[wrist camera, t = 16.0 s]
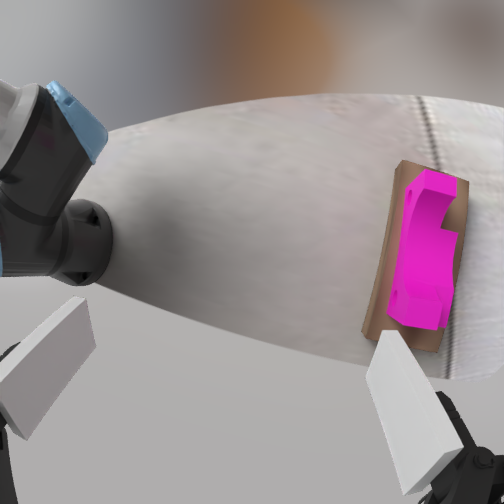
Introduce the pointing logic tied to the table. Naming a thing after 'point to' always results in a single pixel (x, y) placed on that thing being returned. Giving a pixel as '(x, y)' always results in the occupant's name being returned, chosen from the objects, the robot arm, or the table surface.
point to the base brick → (386, 269)
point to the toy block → (424, 254)
